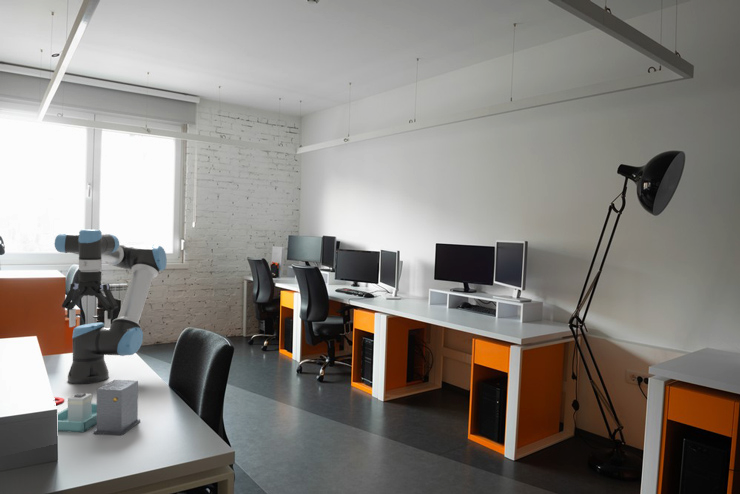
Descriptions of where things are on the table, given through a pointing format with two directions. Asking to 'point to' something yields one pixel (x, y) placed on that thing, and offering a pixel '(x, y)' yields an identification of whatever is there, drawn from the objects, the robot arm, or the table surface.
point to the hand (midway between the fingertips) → (89, 327)
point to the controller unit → (117, 407)
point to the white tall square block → (79, 407)
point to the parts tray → (76, 425)
